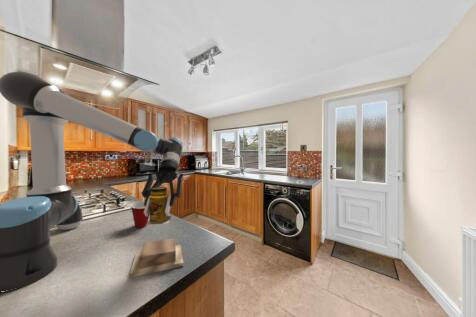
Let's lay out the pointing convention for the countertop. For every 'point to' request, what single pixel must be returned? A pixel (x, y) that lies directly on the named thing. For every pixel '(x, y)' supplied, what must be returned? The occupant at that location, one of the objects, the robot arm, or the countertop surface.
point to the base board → (156, 268)
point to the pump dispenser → (71, 220)
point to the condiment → (158, 206)
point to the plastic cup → (139, 214)
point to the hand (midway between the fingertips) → (156, 214)
